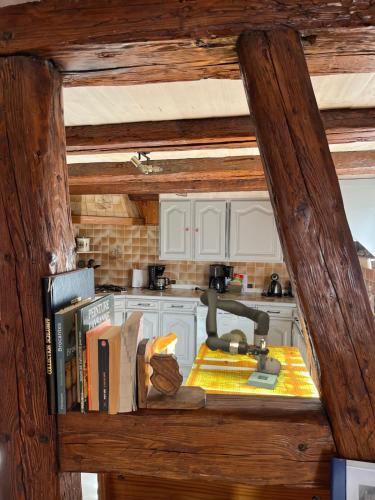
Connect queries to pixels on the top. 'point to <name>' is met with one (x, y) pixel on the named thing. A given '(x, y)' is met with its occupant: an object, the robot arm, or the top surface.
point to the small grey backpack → (270, 366)
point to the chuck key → (262, 357)
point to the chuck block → (262, 380)
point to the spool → (234, 337)
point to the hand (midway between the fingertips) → (268, 352)
